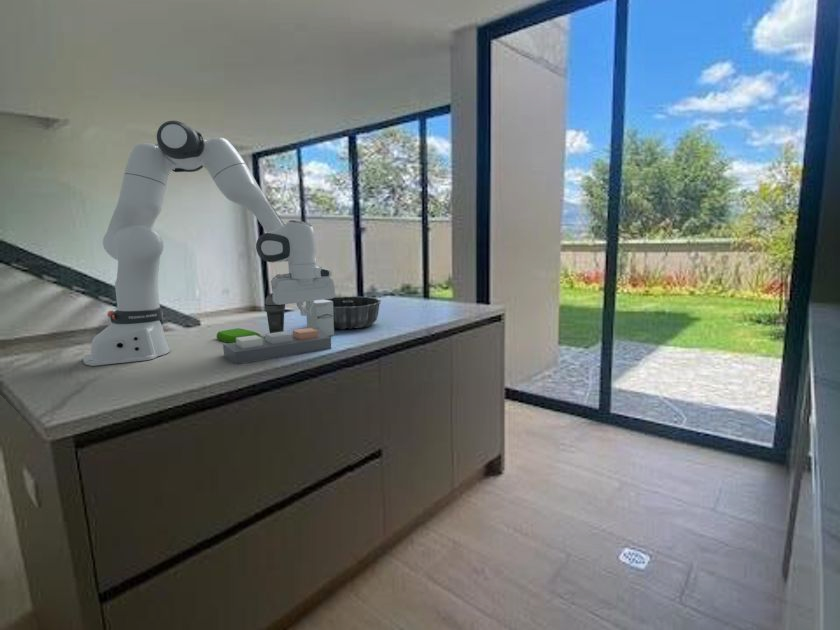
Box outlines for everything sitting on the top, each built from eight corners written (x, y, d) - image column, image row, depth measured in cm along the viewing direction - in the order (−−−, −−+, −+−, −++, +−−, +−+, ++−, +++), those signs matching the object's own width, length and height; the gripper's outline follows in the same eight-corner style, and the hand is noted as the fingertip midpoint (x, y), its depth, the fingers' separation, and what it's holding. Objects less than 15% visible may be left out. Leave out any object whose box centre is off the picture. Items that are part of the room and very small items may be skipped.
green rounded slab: (241, 335, 174) (282, 346, 159) (213, 340, 166) (253, 352, 151) (241, 327, 174) (281, 337, 159) (212, 332, 165) (252, 343, 150)
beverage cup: (274, 338, 166) (271, 282, 163) (262, 336, 170) (258, 280, 167) (291, 335, 172) (288, 280, 168) (279, 332, 176) (276, 279, 173)
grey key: (272, 346, 144) (272, 337, 143) (265, 343, 148) (265, 333, 148) (291, 343, 147) (291, 334, 147) (284, 340, 152) (283, 331, 151)
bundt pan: (371, 333, 175) (371, 306, 173) (304, 331, 179) (303, 305, 177) (387, 320, 201) (387, 297, 199) (328, 318, 205) (327, 295, 203)
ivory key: (242, 351, 138) (242, 341, 138) (236, 347, 143) (235, 337, 142) (263, 348, 142) (262, 338, 141) (256, 344, 147) (255, 335, 146)
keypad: (236, 363, 135) (235, 352, 134) (223, 355, 144) (223, 344, 143) (331, 348, 153) (330, 337, 152) (315, 341, 162) (314, 331, 161)
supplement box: (316, 338, 167) (314, 303, 164) (306, 334, 172) (305, 300, 170) (334, 335, 171) (333, 301, 169) (324, 332, 177) (323, 298, 175)
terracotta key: (300, 342, 149) (300, 333, 149) (293, 339, 154) (292, 330, 153) (318, 339, 153) (317, 330, 152) (310, 336, 157) (309, 327, 157)
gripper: (275, 275, 141) (278, 321, 144) (336, 270, 154) (338, 312, 156) (267, 274, 146) (270, 318, 149) (327, 269, 159) (329, 310, 161)
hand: (306, 315), depth 153 cm, fingers closed
